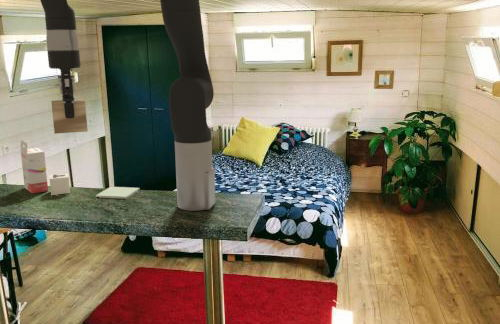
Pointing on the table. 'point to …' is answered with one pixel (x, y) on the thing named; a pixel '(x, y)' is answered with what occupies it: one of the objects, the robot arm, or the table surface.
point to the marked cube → (59, 184)
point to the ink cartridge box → (34, 169)
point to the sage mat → (117, 192)
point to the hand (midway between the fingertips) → (69, 116)
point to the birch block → (69, 124)
